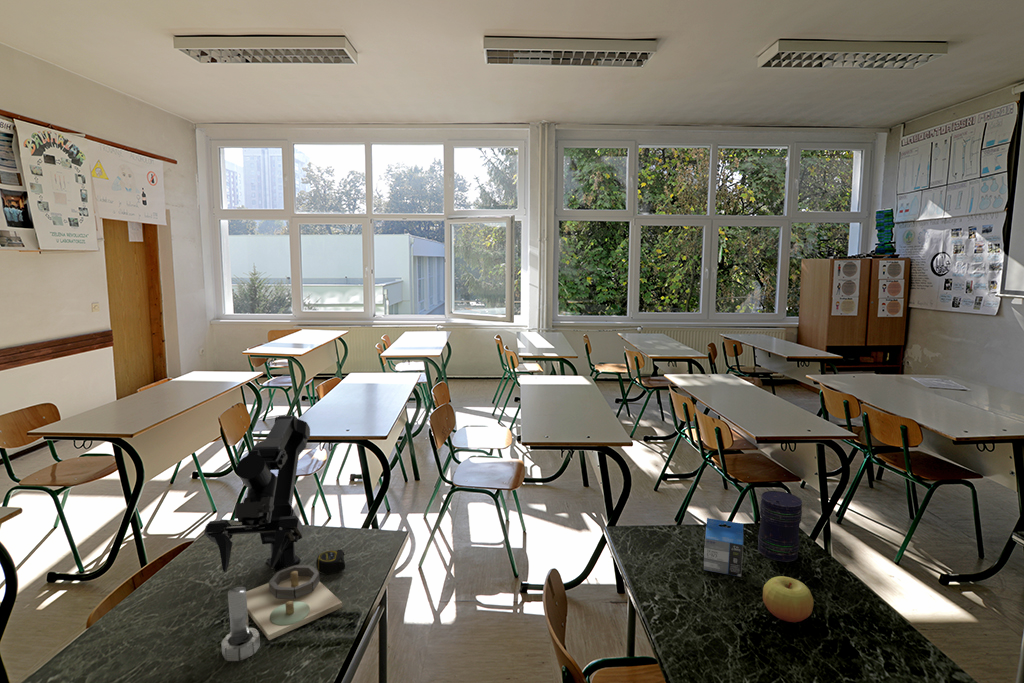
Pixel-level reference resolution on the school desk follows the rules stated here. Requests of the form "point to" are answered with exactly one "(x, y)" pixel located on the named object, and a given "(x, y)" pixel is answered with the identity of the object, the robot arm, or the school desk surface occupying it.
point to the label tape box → (723, 547)
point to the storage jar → (779, 525)
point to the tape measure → (330, 562)
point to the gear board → (290, 600)
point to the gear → (239, 628)
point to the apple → (788, 599)
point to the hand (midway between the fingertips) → (248, 570)
